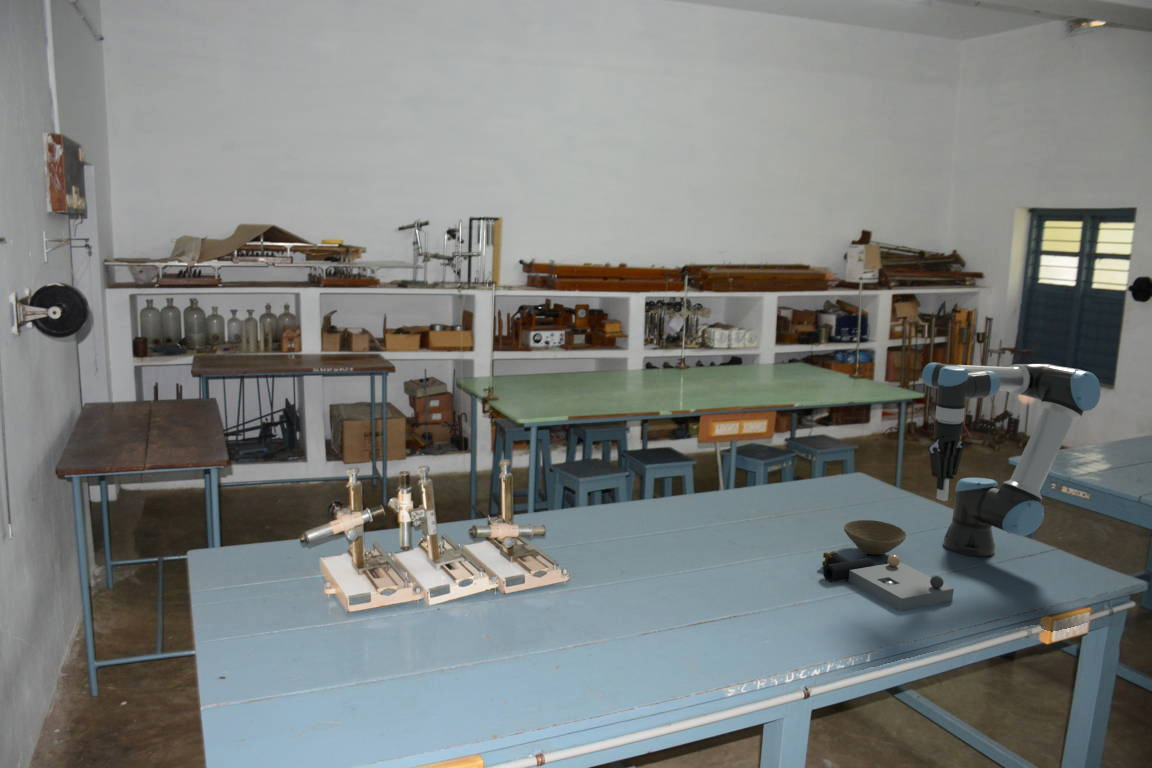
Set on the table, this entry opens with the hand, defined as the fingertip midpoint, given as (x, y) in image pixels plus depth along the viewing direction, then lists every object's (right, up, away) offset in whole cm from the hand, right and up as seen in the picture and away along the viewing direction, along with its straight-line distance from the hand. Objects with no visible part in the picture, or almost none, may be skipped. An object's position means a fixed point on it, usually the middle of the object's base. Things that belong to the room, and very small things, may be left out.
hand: (942, 499), depth 249 cm
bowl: (-13, -20, +20) cm, 31 cm away
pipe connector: (-28, -23, +4) cm, 37 cm away
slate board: (-15, -25, -8) cm, 30 cm away
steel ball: (-18, -25, -9) cm, 32 cm away
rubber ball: (-7, -23, -13) cm, 27 cm away
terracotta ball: (-14, -20, +1) cm, 24 cm away
